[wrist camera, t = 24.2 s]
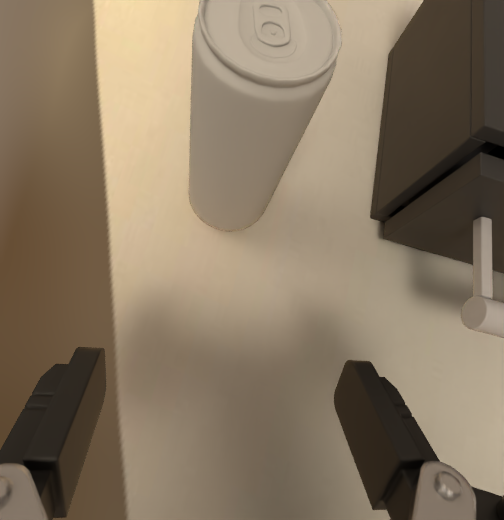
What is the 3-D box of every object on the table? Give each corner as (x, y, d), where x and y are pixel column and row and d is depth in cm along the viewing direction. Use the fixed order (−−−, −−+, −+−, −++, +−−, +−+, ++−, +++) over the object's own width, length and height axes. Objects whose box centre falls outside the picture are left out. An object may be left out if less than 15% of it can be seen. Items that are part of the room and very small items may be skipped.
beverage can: (188, 234, 21) (194, 76, 10) (187, 163, 22) (192, -48, 11) (267, 235, 22) (357, 91, 11) (262, 166, 23) (336, -25, 12)
